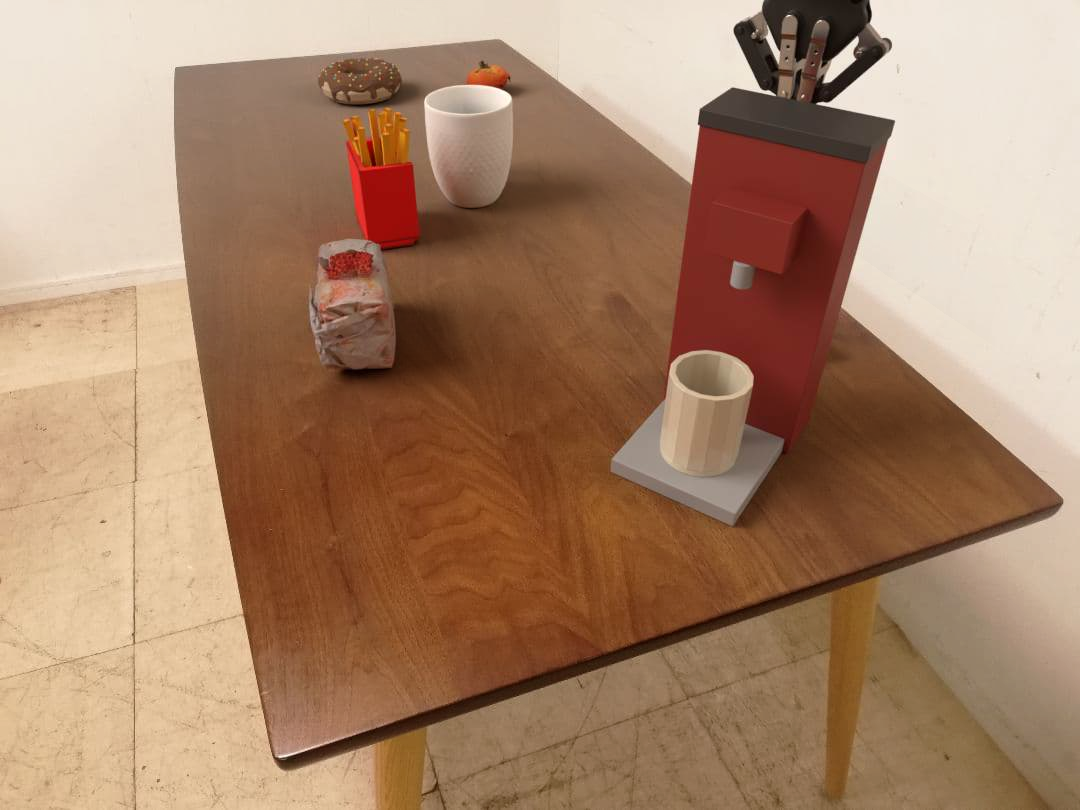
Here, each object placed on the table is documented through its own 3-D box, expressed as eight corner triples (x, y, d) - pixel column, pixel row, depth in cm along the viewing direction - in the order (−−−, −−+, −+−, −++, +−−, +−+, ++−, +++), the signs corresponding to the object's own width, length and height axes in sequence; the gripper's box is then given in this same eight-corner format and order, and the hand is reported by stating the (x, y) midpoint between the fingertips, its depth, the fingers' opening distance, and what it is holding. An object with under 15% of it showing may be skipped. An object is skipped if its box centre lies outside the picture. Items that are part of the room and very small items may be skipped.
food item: (405, 375, 79) (394, 286, 72) (320, 386, 77) (301, 296, 71) (391, 301, 89) (381, 217, 83) (316, 310, 87) (300, 225, 81)
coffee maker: (739, 530, 63) (817, 204, 46) (603, 469, 69) (628, 155, 52) (811, 419, 74) (895, 120, 57) (688, 373, 79) (732, 86, 62)
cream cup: (739, 432, 70) (755, 356, 65) (734, 483, 65) (751, 405, 60) (664, 420, 71) (674, 345, 66) (654, 469, 67) (664, 392, 61)
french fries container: (409, 212, 106) (398, 102, 97) (425, 244, 99) (415, 130, 90) (354, 219, 104) (338, 109, 95) (367, 253, 97) (351, 137, 88)
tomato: (500, 71, 146) (505, 48, 139) (515, 106, 145) (520, 84, 138) (458, 83, 144) (460, 60, 137) (472, 119, 144) (475, 97, 136)
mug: (445, 167, 117) (438, 73, 109) (521, 171, 116) (521, 76, 108) (423, 214, 105) (414, 112, 97) (508, 218, 105) (506, 116, 96)
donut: (347, 115, 133) (343, 83, 130) (307, 93, 141) (302, 63, 138) (421, 96, 140) (419, 66, 137) (379, 76, 148) (376, 47, 145)
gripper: (940, -82, 60) (877, 147, 71) (769, -99, 66) (735, 116, 77) (913, -67, 55) (850, 176, 66) (732, -87, 61) (701, 141, 72)
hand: (788, 143), depth 72 cm, fingers closed
